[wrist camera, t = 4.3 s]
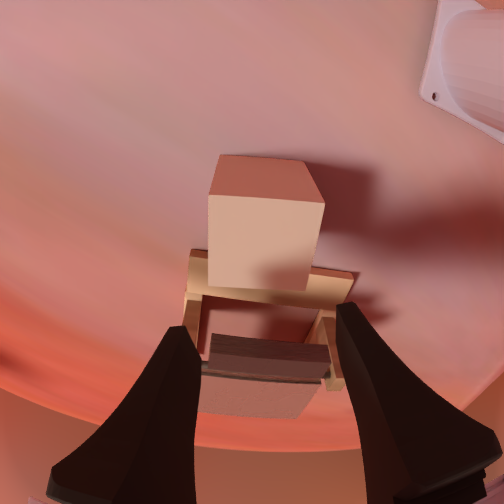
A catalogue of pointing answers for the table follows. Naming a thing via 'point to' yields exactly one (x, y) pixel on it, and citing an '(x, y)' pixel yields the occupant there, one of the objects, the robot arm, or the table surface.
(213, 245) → the beige block
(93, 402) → the table surface
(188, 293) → the frame
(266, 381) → the trapdoor
